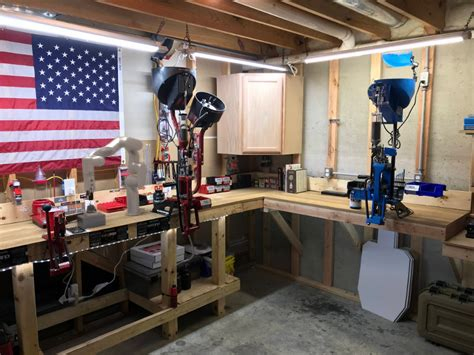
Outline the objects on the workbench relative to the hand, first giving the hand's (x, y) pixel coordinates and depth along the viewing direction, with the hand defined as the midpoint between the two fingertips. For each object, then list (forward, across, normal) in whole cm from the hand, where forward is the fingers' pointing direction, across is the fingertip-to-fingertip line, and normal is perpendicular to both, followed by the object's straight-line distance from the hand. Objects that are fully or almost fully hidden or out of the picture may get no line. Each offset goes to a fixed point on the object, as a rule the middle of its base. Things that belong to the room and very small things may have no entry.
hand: (89, 199), depth 271 cm
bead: (0, 0, 0) cm, 0 cm away
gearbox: (+19, 0, 0) cm, 19 cm away
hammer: (+19, +20, +3) cm, 28 cm away
